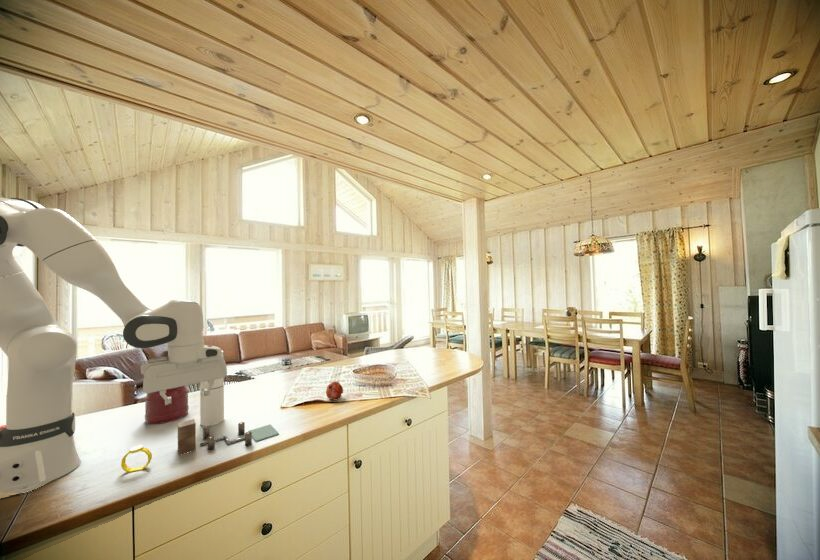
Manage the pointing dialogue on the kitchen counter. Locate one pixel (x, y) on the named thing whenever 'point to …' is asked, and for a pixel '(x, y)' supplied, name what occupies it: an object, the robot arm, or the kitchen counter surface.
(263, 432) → the mat
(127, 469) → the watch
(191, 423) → the block
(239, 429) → the gates
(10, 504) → the kitchen counter surface
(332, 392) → the pomegranate
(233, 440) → the wire
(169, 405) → the canister
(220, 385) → the cylindrical container
